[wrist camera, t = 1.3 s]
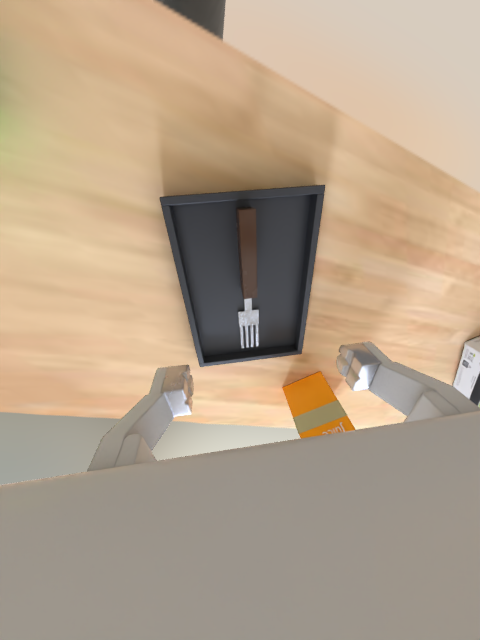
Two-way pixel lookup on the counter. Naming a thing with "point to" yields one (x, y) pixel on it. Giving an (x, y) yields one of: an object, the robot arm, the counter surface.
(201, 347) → the tray
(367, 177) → the counter surface
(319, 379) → the orange juice
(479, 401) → the tea box
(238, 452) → the robot arm
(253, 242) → the fork
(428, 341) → the counter surface
